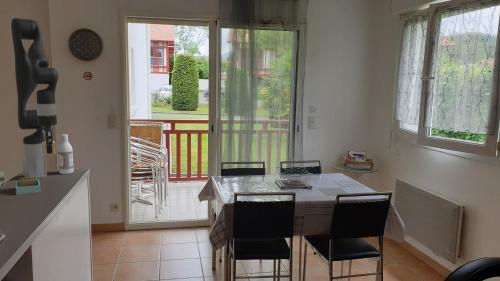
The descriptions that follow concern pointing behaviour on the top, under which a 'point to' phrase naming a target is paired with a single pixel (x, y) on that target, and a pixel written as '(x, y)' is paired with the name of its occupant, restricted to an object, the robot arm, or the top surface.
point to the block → (27, 181)
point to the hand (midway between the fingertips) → (49, 152)
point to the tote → (28, 188)
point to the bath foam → (65, 156)
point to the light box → (44, 149)
